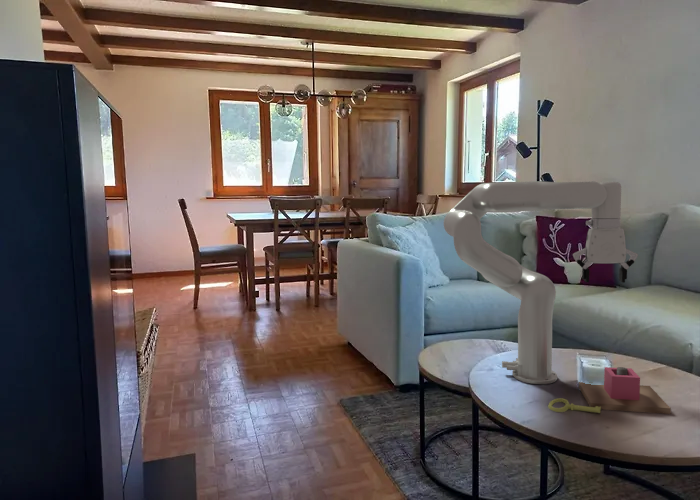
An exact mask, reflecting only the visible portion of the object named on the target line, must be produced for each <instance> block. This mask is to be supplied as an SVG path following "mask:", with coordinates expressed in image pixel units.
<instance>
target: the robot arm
mask: <svg viewBox="0 0 700 500" xmlns="http://www.w3.org/2000/svg"><path fill="white" fill-rule="evenodd" d="M580 209H581V210H582V209H583V210H584V209H585V210H587V209H589V210H590V209H591V218H590V220H586V221H585V226H590V228H588V231H587V236H586V243H585V247H584V248H583V249H580V250H578V251H575V252H574V253H572V256H573V259H574V260H575V262H576V263H577V265H578V266H580V267H581V268H582V269H581V272H582V273H581V279H583V281H584V282H585V283H589V282H590V269H589V267H590V266H591V265H592V264H618V265H619V266H620V267H619V269H618V270H619V271H618V273H619V274H618V280H619V281H620V282H621V283H622V284H623V283H626V280H627V278H628V270H629V268H630V267H632V265H633V264H634V263H635V261H636V260H637V259H638V256H639V254H638V253H636V252H635V251H632V250H630V249H628V248H627V247H626V236H625V230H624V228H621V217H622V216H621V213H622V212H621V210H622V185H621V183H620V182H618V181H601V182H598V181H594V180H593V181H557V182H556V181H532V180H531V181H505V182H504V181H499V182H497V181H496V182H494V181H493V182H485V183H484V182H483V183H480V184H478V185H476V186H475V187H474V188H473V189H471V190H470V191H469V192H467V194H466V195H465V196H464V197H463V198H462V199H461V200H460V201H459V202H457V204H456V205H454V207H452V208H451V209H450V210H449V211H448V213H447V214H446V215H445V217H444V219H443V229H444V230H445V233H446V234H448V235H449V236H451V237H453V238H452V239H453V246H454V249H455V251H456V254H457V256H458V257H459V258H460V260H461V261H462V262H463V263H464V264H466V265H467V266H469V267H470V268H471V269H474V270H475V271H476V272H478V273H480V274H481V276H482V278H484V279H485V280H486V281H487V282H490V283H491V284H493V285H494V286H496V287H498V288H499V289H501V290H503V291H504V292H506V293H508V294H510V295H511V296H513V297H514V298H517V299H518V300H520V305H519V306H520V307H519V310H518V315H517V358H515V360H512V361H504V360H503V361H501V368H505V369H506V371H512V376H513V377H514V378H515V379H516V380H518V381H520V382H523V383H528V384H532V385H533V384H534V385H548V384H553V383H555V382H556V381H557V380H558V373H556V372H555V371H554V370H552V369H553V367H552V366H553V364H552V363H553V362H552V360H553V316H554V315H553V314H554V307H555V301H556V297H557V296H556V293H557V291H556V287H555V283H553V281H552V280H551V279H550V278H549V277H548V276H546V275H544V274H542V273H539V272H537V271H533V270H531V269H528V268H526V267H525V266H524V265H521V264H520V263H519V261H518V260H516V258H514V257H513V256H511V255H509V254H506V253H505V252H503V251H501V250H499V249H497V248H496V247H495V246H493V245H491V244H490V243H488V242H487V241H485V239H484V238H483V235H482V223H481V219H482V218H483V217H484V216H485V215H486V214H487V213H488V212H491V213H497V212H498V213H499V212H500V213H504V212H536V211H537V212H539V211H540V212H542V211H543V212H544V211H553V210H580ZM584 254H585V255H584ZM583 255H584V258H585V260H584V261H583V260H582V259H581V258H580V256H583ZM627 255H629V256H630V257H629V259H628V260H626V259H627Z"/></svg>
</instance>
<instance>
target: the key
mask: <svg viewBox="0 0 700 500" xmlns="http://www.w3.org/2000/svg"><path fill="white" fill-rule="evenodd" d="M556 403H563V404H565V405H564V406H562V407H554V406H553V405H554V404H556ZM547 407H548V409H549V410H550V411H552V412H557V413H565V412H567V411H568V410H570V411H582V412H590V413H595V414H597V413H598V414H601V410H602V409H601V407H598V406H596V407H590V406H586V405H579V404H574V403H572V402H571V403H570V402H569V400H568V399H565V398H562V397H559V398H554V399H553V400H550V401H549V403H548V405H547Z"/></svg>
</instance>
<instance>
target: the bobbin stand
mask: <svg viewBox="0 0 700 500" xmlns="http://www.w3.org/2000/svg"><path fill="white" fill-rule="evenodd" d="M616 368H617V375H627V367H622V366H618V367H616ZM578 389H579V390H580V392H581V394H582V396H583V397H584V399H585V402H586V403H587V404H588V407H596V406H598V407H601V409H600V410H603V411H604V410H605V411H617V412H618V411H619V412H622V411H623V412H636V413H650V414H651V413H652V414H664V415H671V410H672V409H671V407H670V406H669V405H668V404H667V402H666V401H665V400H664V399H662V397H661V396H660V395H659V394H658V392H656V391H655V390H654V388H653V387H651V385H643V384H642V385H641V384H640V396H639V400H628V399H612V398H610V396H609V395H608V393H607V392H606V391H605V389H604V385H591V384H585V383H583V381H578Z"/></svg>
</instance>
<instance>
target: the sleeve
mask: <svg viewBox="0 0 700 500" xmlns="http://www.w3.org/2000/svg"><path fill="white" fill-rule="evenodd" d="M617 368H618V367H608V366H607V367H606V366H604V372H603V373H604V374H603V375H604V378H603V379H604V380H603V383H604V389H605V391H606V392H607V393H608V395H609V396H610V398H612V399H628V400H639V396H640V385H641V377H640V376H639V375H638V373H636V371H635V370H634V369H633V368H627V367H626V368H627V375H617Z"/></svg>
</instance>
